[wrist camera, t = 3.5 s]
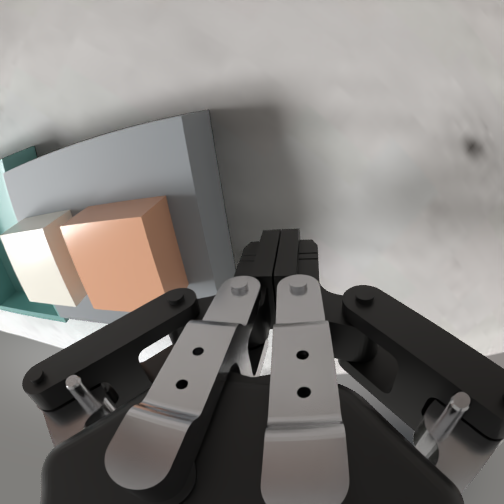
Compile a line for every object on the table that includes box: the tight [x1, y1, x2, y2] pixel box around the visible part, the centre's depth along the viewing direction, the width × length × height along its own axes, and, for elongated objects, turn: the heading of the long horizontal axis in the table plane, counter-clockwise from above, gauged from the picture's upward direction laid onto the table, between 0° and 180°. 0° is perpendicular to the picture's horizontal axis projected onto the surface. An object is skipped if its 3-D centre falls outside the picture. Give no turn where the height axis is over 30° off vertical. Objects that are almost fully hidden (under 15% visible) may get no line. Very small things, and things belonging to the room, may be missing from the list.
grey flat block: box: [3, 110, 236, 324], centre depth 18 cm, size 14×12×4 cm
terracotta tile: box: [60, 196, 189, 312], centre depth 14 cm, size 5×5×2 cm
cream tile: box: [0, 210, 87, 307], centre depth 16 cm, size 5×5×2 cm
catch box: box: [0, 146, 69, 322], centre depth 21 cm, size 12×14×4 cm
